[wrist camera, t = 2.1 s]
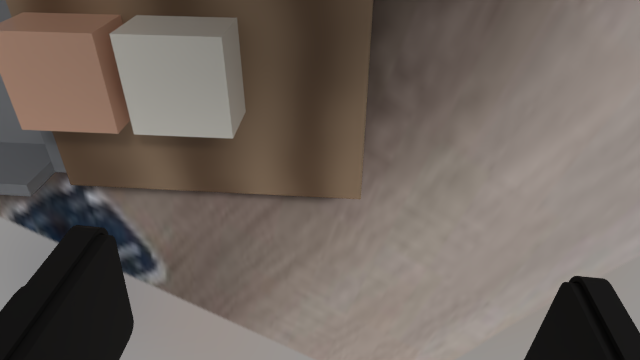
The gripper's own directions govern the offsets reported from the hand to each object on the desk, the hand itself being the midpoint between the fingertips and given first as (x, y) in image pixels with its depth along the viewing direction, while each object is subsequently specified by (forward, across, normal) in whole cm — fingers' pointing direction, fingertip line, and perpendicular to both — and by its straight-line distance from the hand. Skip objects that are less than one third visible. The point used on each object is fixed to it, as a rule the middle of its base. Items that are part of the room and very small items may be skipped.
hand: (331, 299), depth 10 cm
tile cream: (+16, +8, +1) cm, 18 cm away
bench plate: (+19, +8, +1) cm, 21 cm away
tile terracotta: (+16, +14, +2) cm, 21 cm away
